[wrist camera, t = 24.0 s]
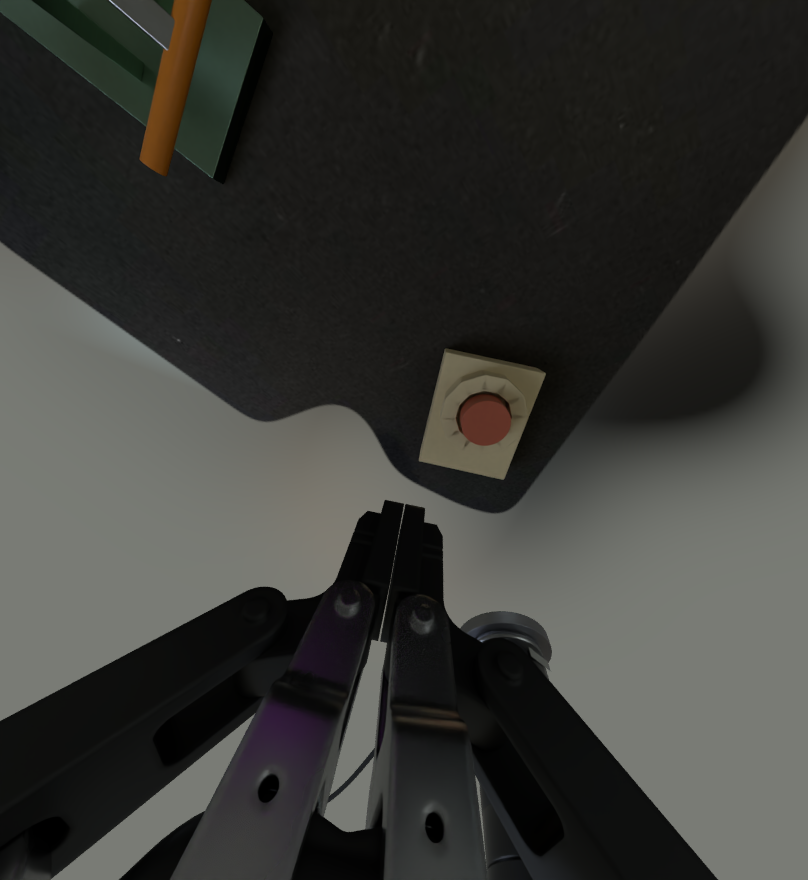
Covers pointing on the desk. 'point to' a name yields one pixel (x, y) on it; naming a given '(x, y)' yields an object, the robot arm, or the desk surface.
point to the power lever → (168, 68)
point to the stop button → (485, 420)
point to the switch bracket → (138, 60)
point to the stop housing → (460, 384)
